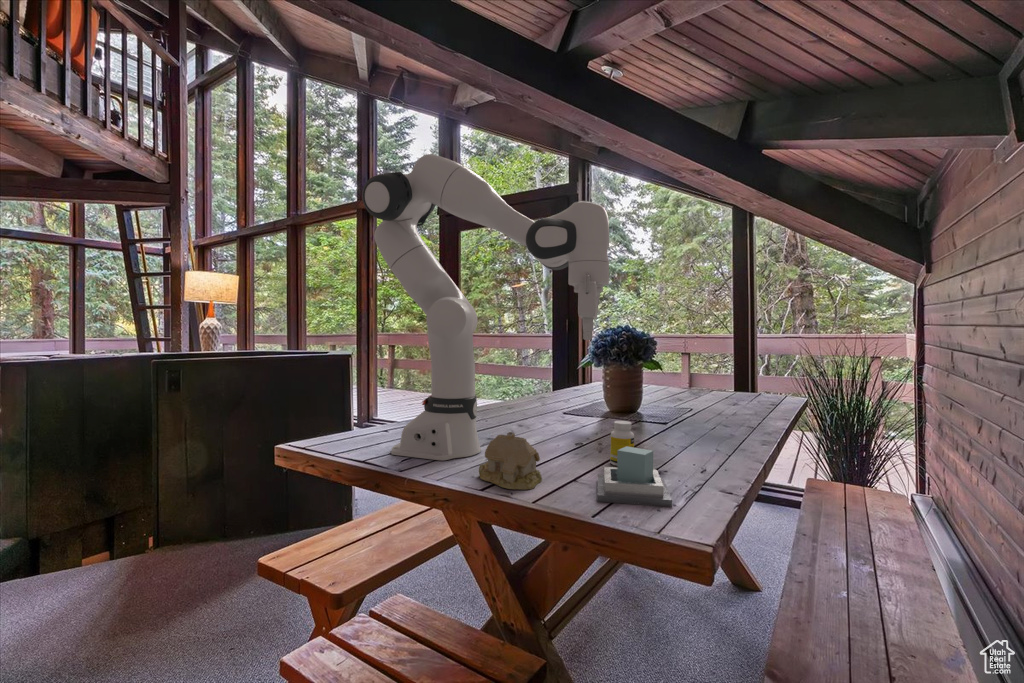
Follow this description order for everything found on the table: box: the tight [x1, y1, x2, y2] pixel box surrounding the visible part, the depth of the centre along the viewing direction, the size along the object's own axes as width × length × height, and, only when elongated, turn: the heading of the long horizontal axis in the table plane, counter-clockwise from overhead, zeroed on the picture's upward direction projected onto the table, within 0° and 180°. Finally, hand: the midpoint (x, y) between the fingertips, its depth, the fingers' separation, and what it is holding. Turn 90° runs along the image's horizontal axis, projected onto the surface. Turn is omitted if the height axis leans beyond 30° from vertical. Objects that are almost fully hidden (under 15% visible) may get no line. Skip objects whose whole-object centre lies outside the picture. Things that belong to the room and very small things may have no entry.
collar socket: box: [596, 466, 673, 508], centre depth 93 cm, size 13×13×3 cm
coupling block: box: [616, 446, 654, 483], centre depth 92 cm, size 4×6×7 cm
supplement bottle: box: [609, 420, 635, 467], centre depth 113 cm, size 5×5×10 cm
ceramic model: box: [478, 431, 543, 491], centre depth 100 cm, size 14×11×10 cm
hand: (587, 339), depth 107 cm, fingers open, 8 cm apart
